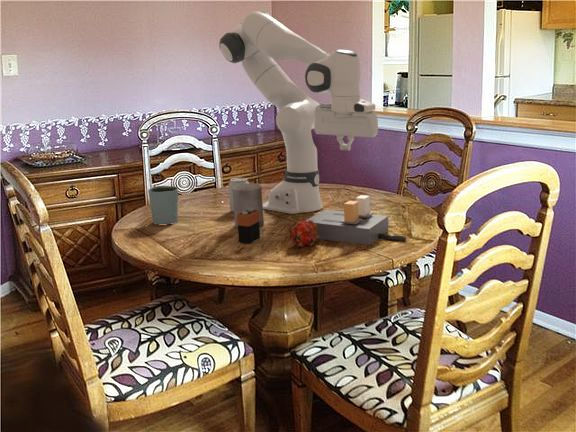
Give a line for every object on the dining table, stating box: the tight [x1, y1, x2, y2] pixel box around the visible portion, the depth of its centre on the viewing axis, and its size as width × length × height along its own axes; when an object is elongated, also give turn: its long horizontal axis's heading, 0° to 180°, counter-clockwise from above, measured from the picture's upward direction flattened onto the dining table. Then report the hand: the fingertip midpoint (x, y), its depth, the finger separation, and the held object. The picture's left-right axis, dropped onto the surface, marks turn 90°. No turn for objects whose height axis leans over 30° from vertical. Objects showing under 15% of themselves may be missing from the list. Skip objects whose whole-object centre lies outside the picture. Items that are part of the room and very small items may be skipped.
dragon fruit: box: [289, 218, 320, 249], centre depth 193 cm, size 8×8×12 cm
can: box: [228, 177, 250, 213], centre depth 235 cm, size 8×8×12 cm
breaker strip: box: [304, 209, 407, 246], centre depth 201 cm, size 31×16×5 cm, turn 61°
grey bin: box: [147, 185, 179, 225], centre depth 223 cm, size 10×10×12 cm
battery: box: [237, 207, 261, 245], centre depth 199 cm, size 4×7×10 cm, turn 153°
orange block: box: [341, 200, 362, 224], centre depth 196 cm, size 5×5×6 cm
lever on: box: [355, 194, 374, 218], centre depth 203 cm, size 5×5×6 cm
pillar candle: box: [233, 181, 265, 229], centre depth 214 cm, size 10×10×15 cm
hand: (345, 150), depth 198 cm, fingers closed
